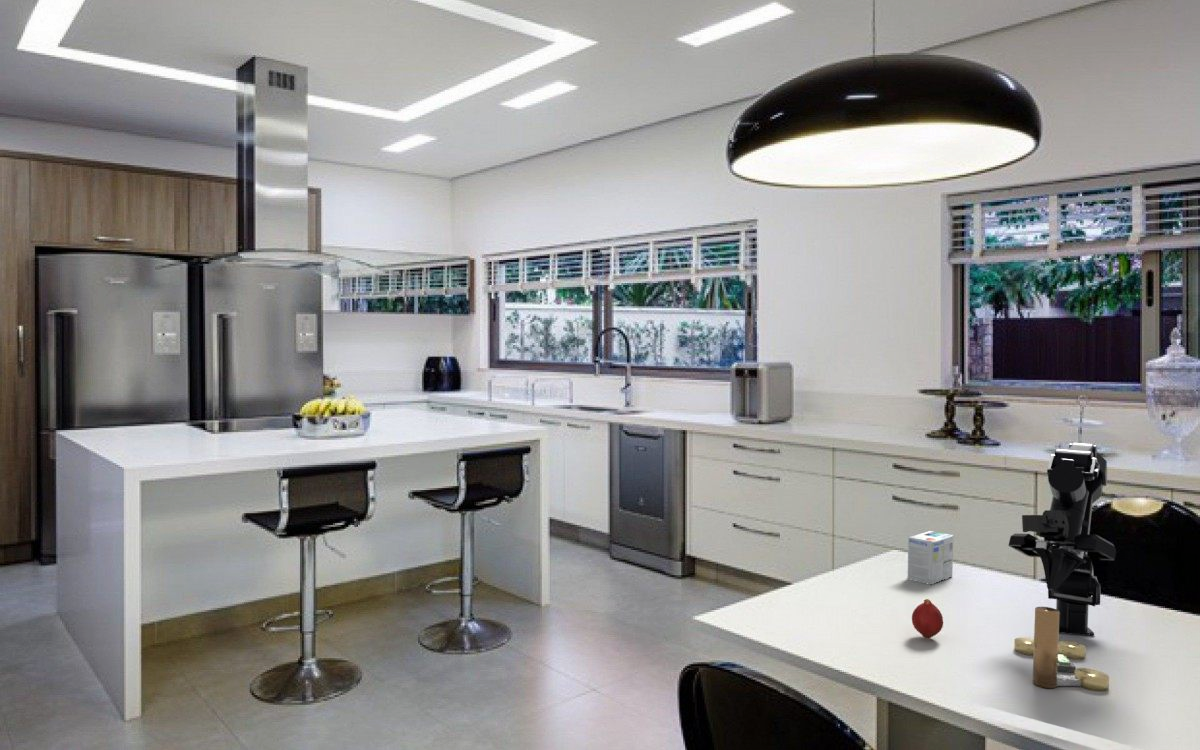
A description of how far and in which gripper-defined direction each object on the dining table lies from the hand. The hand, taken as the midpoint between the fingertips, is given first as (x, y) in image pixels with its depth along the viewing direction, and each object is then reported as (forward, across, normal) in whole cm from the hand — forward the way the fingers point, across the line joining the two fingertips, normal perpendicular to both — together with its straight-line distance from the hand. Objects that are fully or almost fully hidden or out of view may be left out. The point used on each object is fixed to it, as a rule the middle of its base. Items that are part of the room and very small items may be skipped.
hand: (1051, 589), depth 151 cm
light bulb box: (-6, -50, +16) cm, 53 cm away
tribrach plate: (+14, +2, +4) cm, 15 cm away
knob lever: (+17, +8, -1) cm, 19 cm away
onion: (+15, -19, -7) cm, 25 cm away
